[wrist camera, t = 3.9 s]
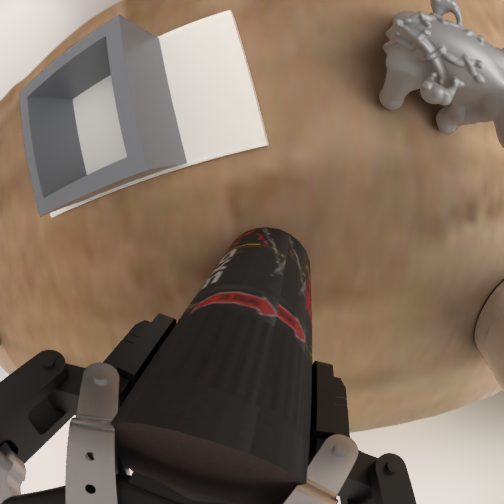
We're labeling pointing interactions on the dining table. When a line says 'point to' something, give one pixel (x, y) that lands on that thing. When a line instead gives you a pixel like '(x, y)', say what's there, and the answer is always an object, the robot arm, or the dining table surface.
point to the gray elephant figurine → (444, 68)
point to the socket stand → (137, 109)
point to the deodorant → (231, 382)
